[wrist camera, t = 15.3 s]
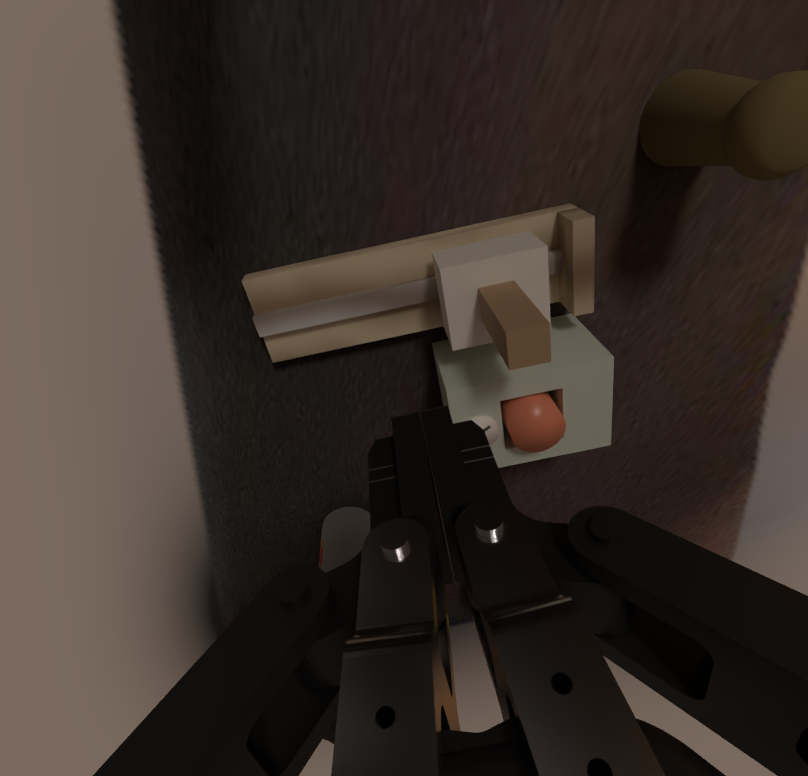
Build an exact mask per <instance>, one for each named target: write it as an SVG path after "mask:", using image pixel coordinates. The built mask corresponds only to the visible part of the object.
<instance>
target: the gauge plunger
mask: <svg viewBox="0 0 808 776" xmlns="http://www.w3.org/2000/svg"><path fill="white" fill-rule="evenodd" d="M500 406H501V415H502V418H503V420H504V423H505V425H506V427H507V429H508V432H509V434H510V436H511V438H512V441H513V443H514V444H515V445H516V446H517V447H518V448H519V449H521V450H523V451H526V452H532V453H534V452H541V451H545V450H547V449H549V448H551V447H553V446H554V445H556V444H557V443H558V442H559V441H560V440H561V438H562V437H563V435H564V433H565V429H566V422H565V419H564V417H563V415H562V414H561V412H560V411H559V409H558V407H557V406H556V404H555V403H554V401H553V400H552V398H551V396H550V395H549V393H548V392H547V391H546V392H541V393H536V394H532V395H527V396H522V397H517V398H512V399H508V400H503V401H500Z"/></svg>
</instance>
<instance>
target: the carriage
mask: <svg viewBox="0 0 808 776" xmlns="http://www.w3.org/2000/svg"><path fill="white" fill-rule="evenodd" d="M432 258H433V264H434V270H435V276H436V282H437V288H438V294H439V300H440V306H441V312H442V318H443V324H444V329H445V331H446V334H447V337H448V340H449V342H450V345H451V348H452V350H453V351H455V350H459V349H464V348H469V347H474V346H478V345H483V344H488V343H493V342H494V344H495V345H496V347H497V349H498V351H499V353H500V355H501V356H502V358H503V360H504V362H505V364H506V366H507V367H508V369H509V371H510V370H515V369H519V368H524V367H529V366H534V365H538V364H543V363H548V362H551V337H550V330H551V320H550V294H549V268H548V246H547V245H546V244H545V243H544V242H542V241H541V240H540V239H539V238H537V237H536V236H535V235H534V234H532V233H531V232H530V231H525V232H520V233H516V234H511V235H507V236H502V237H497V238H493V239H488V240H484V241H479V242H474V243H470V244H465V245H461V246H456V247H451V248H447V249H442V250H438V251H433V252H432Z"/></svg>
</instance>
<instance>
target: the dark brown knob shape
mask: <svg viewBox="0 0 808 776" xmlns="http://www.w3.org/2000/svg"><path fill="white" fill-rule="evenodd" d="M639 135H640V142H641V146H642V148H643V150H644V152H645V154H646V156H647V157H648V158H649V159H651V160H652V161H653V162H654V163H656V164H659V165H662V166H666V167H680V166H731V167H732V168H733V169H735V170H736V171H737V172H738V173H739V174H741V175H742V176H746V177H749V178H753V179H757V180H771V179H779V178H784V177H786V176H789V175H791V174H793V173H796V172H798V171H800V170H801V169H803V168H804V167H806V166H807V165H808V71H807V70H806V71H793V72H783V73H780V74H778V75H775V76H773V77H771V78H768V79H766V80H764V81H757V80H752V79H747V78H743V77H738V76H733V75H728V74H723V73H718V72H713V71H708V70H703V69H699V68H698V69H688V70H683V71H681V72H679V73H676V74H674V75H672V76H670V77H669V78H668V79H667V80H665V81H664V82H663V83H662V84H661V85H660V86H658V87H657V89H656V90H655V92H654V93H653V94H652V96H651V97H650V98H649V100H648V101H647V104H646V106H645V109H644V111H643V113H642V116H641V122H640V128H639Z"/></svg>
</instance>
